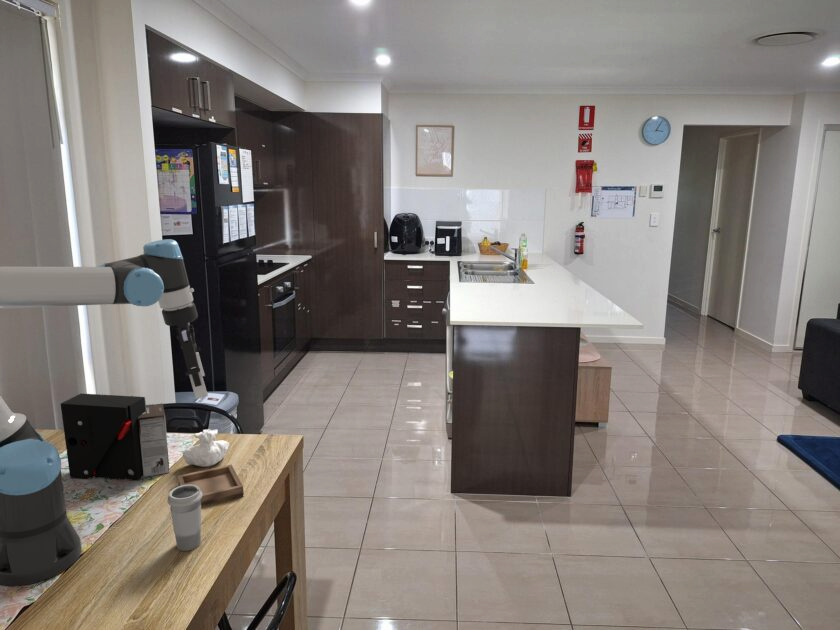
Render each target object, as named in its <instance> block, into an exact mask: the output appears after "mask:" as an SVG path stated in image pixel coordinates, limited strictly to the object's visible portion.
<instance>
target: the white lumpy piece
mask: <svg viewBox="0 0 840 630" xmlns="http://www.w3.org/2000/svg"><path fill="white" fill-rule="evenodd" d="M218 431H219V430H218V429H217V428H216V429H213V430H211V429H210V428H207V429H202V431H200V432H196V433H195V434H194V437H195V438H196V439H199V444H196V445H193V446H190V447H187V448H186V449H185V450H184V451H182V458H183V459H184V462H185V463H186V464H187V465H193V466H196V467H203V468H205V467H212V466H215V465H216V464H217V463H218V462H220V461H221V460H223V458H224V457H225V456H226V454H227V452H228V449H229V448H230V447H229V446H230V443H229V441H227V440H223V439H222V440H217V438H216V436H217V434H218V433H219V432H218Z"/></svg>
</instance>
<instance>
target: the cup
mask: <svg viewBox="0 0 840 630" xmlns="http://www.w3.org/2000/svg"><path fill="white" fill-rule="evenodd" d="M202 495H203V494H202V492H201V490H200V488H199V487H198V486H196V485H192V484H187V485H181V486H178V485H177V486H176V487H174V488H172V489H171V490H170V491H169V493H168V497H167V504H168V505H169V506H170V508H169V509H170V514H171V522H172V528H173V534H174V537H175V544H176V549H178V551H182V552H188V551H192V550H195V549H197V548H198V547H199V546H200V545H201V544H200V543H202V536H201V535H202V533H201V532H202V531H201V530H202V506H201V501H200V499H201V498H202Z"/></svg>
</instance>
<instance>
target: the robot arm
mask: <svg viewBox="0 0 840 630" xmlns="http://www.w3.org/2000/svg"><path fill="white" fill-rule="evenodd" d="M142 253H143V254H139V255H136V256H133V257H128V258H124V259H119V260H117V261H115V260H114V261H111V262H104V263H102V264H100V265H96V266H0V309H20V308H21V309H22V308H44V307H45V308H47V307H49V308H51V307H69V306H73V307H74V306H96V305H97V306H98V305H101V306H102V305H133V306H136V307H151V306H153V305H155V304H156V303H158V305H159V308H160V309H162V310H161V314H162V318H163V321H164V322H163V323H164V325H166V326H168V327H177V328H175V335H176V338H177V340H178V343H179V347H180V349H182V354H183V357H184V361H185V366H186V369H187V371H184V373H185V374H184V375H185V376H189V379H190V383H191V387H192V390H193V394H194V397H195V400H199V399H201V398H205V397H208V396H209V395H208V391H207V388H206V384H205V381H204V377H206V374H205V371H204V367H203V364H202V361H201V356H200V353H199V351H201V347H200V346H199V345H198V346H197V343H196V339H195V338H196V336H195V335H196V334H195V328H194V326H193V325H194V324H192V325H191V324H190V323H191V322H194V321H195V320H197V319H198V317H199V314H198V310H197V307H196V303H194V296H193V292H195V289H194V288H193V287H191V286H190V282H189V279H188V274H187V271H186V267H185V262H184V257H183V255H182V251H181V248H180V246H179V243H178V242H177V241H176V240H174V239H171V238H169V239H168V238H166V239H159V240H154V241H151V242H147V243H146V244H144V245H143V252H142ZM63 484H64V483H63V477H62V459H61V456H60V454H59V451H58V448H57V446H55V445H54V444H53V443H51V442H49V441H46V440H45V439H44V437H43V436H42V434H41V433H40V432H38V431H37V430H36V429H35V427H34V426H33V424H32V423H31V422H30V420H29V419H28V417H27V416H26V415H25V414H23V413H19V412H13V411H12V410H11V409H10V407H9V406H8V404H7V403H6V401H5V400H4V398H3V397H2V396H1V395H0V585H2V586H9V587H10V586H12V587H15V586H16V587H17V586H25V585H30V584H35V583H39V582H41V581H45V580H47V579H51V578H52V577H54V576H57V575H59V574H60V573H62V572H64V571H66V570H67V569H68V568H70V567H71V566H73V565H74V563H76V562H77V561H78V559H79V558H80V556H81V555H82V552H83V551H82V548H83V547H82V542H81V538H80V535H79V534H78V532H77V531H76V528H75V527H74V525H73V523H72V522H71V520H70V519H69V517H68V514H67V506H66V497H65V491H64V485H63Z"/></svg>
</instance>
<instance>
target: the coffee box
mask: <svg viewBox="0 0 840 630" xmlns="http://www.w3.org/2000/svg"><path fill="white" fill-rule="evenodd" d="M164 408H165V407H164V403H163V402H161V403H157V404H156V403H154V404H153V403H152V404H146V412H144V413H143V414H141V415H140V416H139V417H138V424H139V435H140V445H141V456H142V466H143V475H144V476H143V477H145V478H146V477H152V476H157V475H162V474H168V473H170V463H169V462H170V459H169V448H168V438H167V437H168V436H167V423H166V413H165V409H164Z"/></svg>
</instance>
